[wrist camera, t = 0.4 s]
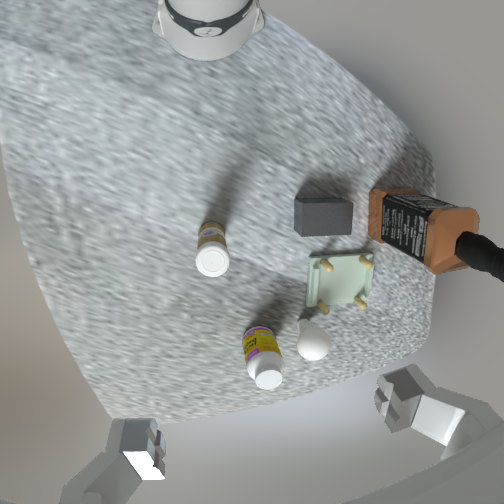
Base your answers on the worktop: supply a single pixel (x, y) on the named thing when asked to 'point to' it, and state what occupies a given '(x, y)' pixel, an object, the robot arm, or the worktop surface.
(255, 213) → the worktop surface
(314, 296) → the tray
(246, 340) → the supplement bottle
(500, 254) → the whiskey bottle
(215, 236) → the sprinkles bottle
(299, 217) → the block
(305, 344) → the lightbulb
